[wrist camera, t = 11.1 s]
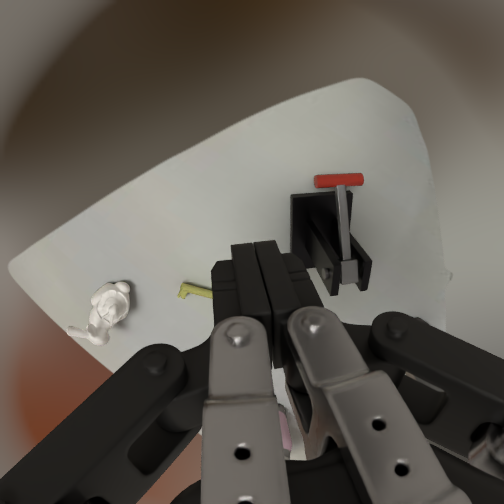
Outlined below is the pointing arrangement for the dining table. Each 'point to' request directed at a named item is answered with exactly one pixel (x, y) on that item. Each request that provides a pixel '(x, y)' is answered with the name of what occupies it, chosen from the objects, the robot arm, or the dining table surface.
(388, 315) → the robot arm
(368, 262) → the switch bracket
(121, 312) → the rabbit figurine
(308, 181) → the dining table surface
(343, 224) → the lever
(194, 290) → the key
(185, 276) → the dining table surface
